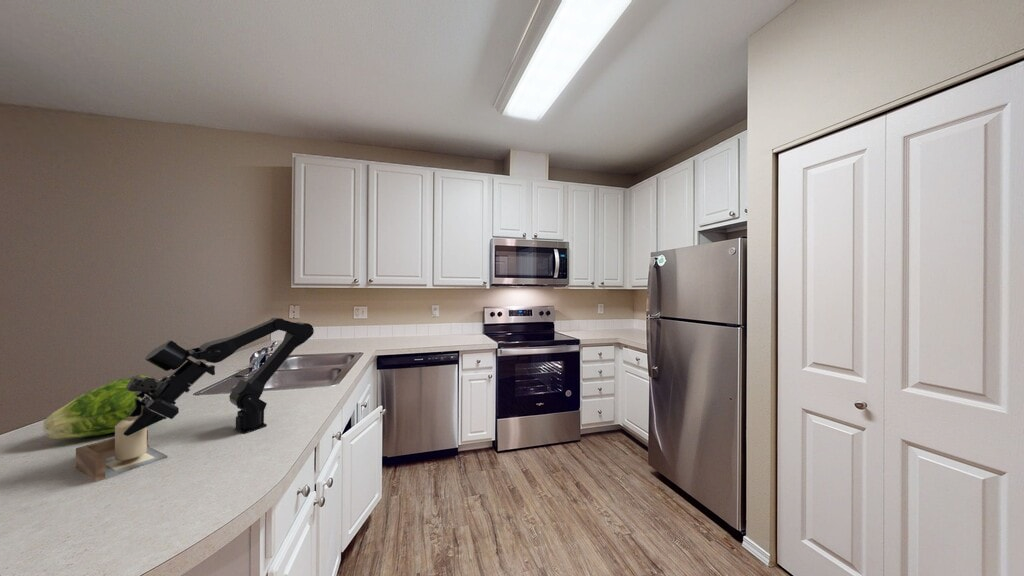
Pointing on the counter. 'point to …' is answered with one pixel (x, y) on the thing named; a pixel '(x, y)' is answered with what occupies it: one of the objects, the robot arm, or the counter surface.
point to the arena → (110, 459)
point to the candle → (129, 440)
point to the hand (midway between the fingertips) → (123, 432)
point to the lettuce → (92, 412)
